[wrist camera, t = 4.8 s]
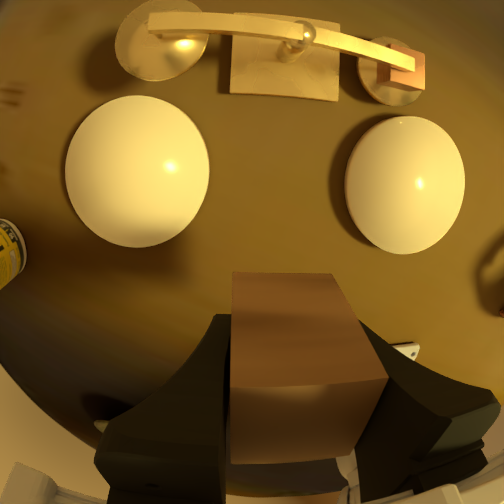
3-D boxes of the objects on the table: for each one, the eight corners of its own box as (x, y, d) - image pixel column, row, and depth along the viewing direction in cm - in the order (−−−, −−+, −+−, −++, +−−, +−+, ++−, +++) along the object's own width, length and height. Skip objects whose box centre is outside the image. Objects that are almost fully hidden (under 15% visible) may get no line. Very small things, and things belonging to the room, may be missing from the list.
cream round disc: (209, 243, 19) (208, 249, 18) (80, 240, 19) (73, 246, 18) (212, 93, 16) (210, 91, 15) (71, 105, 15) (63, 105, 14)
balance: (412, 117, 16) (475, 120, 11) (137, 97, 15) (90, 85, 10) (413, 47, 14) (473, 28, 9) (143, 21, 13) (103, -18, 8)
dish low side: (443, 250, 20) (450, 255, 19) (335, 246, 20) (340, 252, 19) (462, 131, 17) (471, 132, 16) (350, 104, 16) (356, 103, 15)
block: (317, 349, 14) (349, 455, 8) (231, 350, 14) (230, 463, 8) (331, 273, 12) (388, 377, 7) (232, 272, 12) (230, 387, 7)
